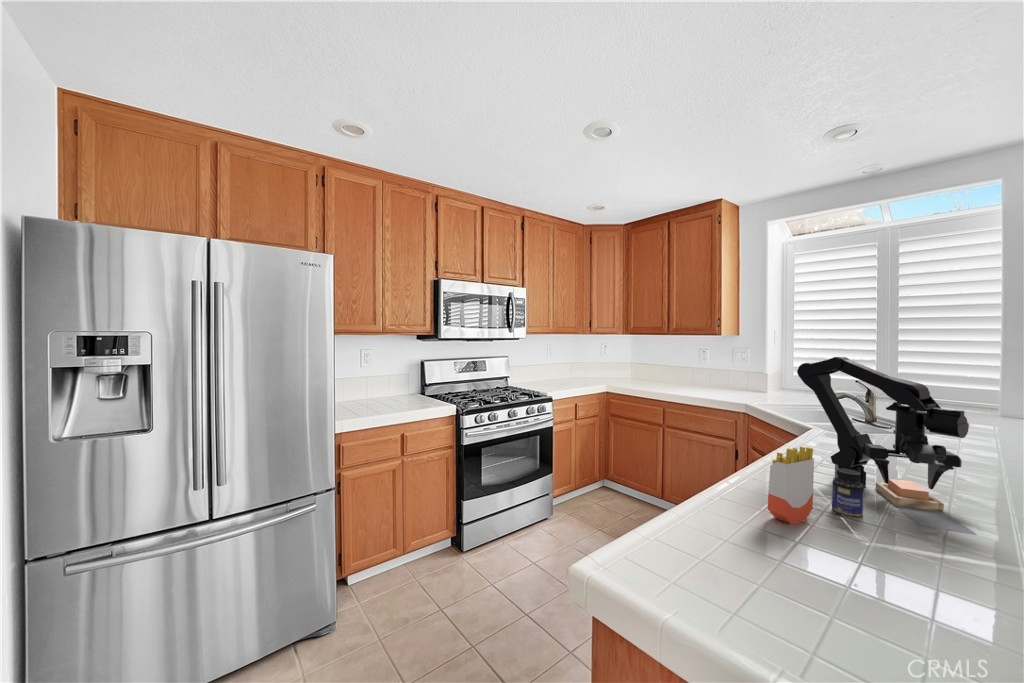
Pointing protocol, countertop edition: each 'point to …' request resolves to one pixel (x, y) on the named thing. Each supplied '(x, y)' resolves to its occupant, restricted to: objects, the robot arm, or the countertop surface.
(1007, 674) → the countertop surface
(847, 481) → the pill bottle
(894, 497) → the tray
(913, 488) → the card deck block
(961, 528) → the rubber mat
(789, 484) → the french fries container
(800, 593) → the countertop surface
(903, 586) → the countertop surface
